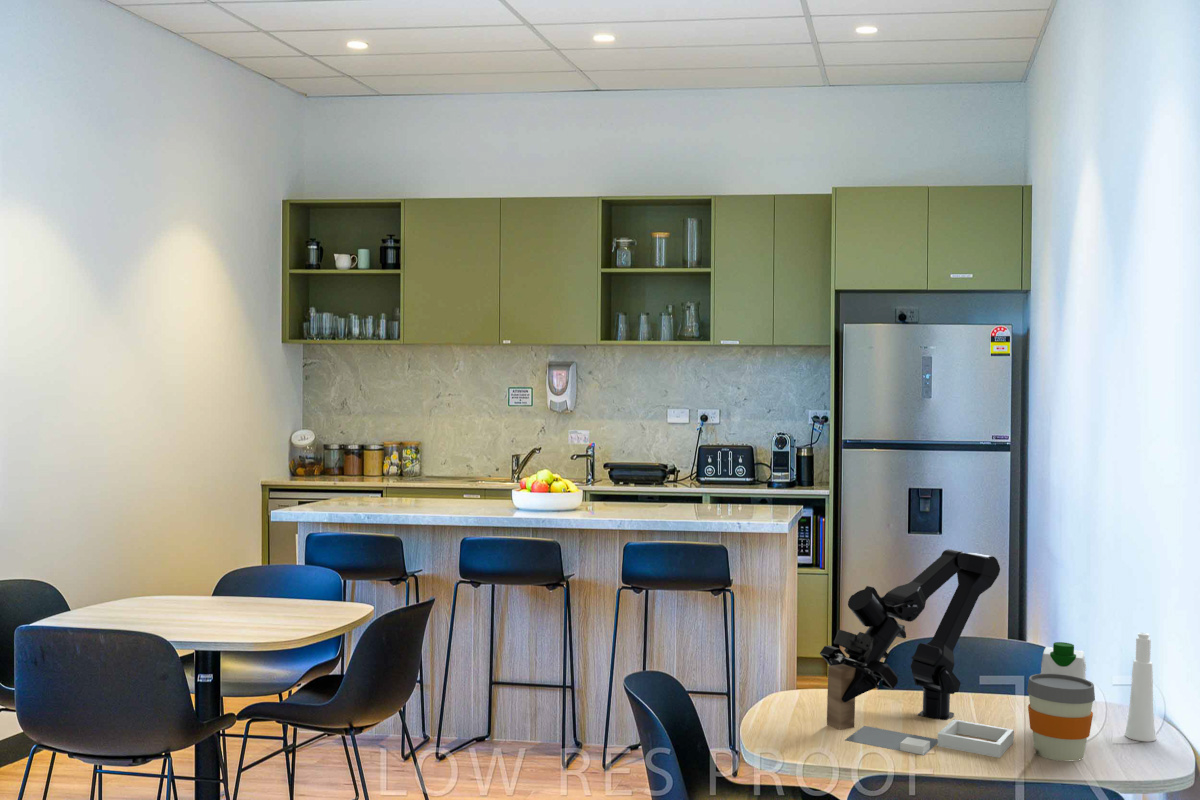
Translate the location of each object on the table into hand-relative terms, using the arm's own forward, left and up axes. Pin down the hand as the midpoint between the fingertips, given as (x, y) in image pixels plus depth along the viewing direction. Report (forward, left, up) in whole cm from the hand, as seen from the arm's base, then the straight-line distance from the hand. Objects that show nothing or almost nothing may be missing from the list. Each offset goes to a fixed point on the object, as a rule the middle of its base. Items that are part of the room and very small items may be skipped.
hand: (836, 698), depth 239 cm
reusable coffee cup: (-13, +42, -8) cm, 44 cm away
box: (-6, +27, -7) cm, 29 cm away
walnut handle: (-1, +1, -7) cm, 7 cm away
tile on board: (+5, +18, -6) cm, 20 cm away
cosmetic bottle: (-37, +54, -8) cm, 66 cm away
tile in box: (-6, +27, -7) cm, 29 cm away
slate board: (+2, +13, -7) cm, 15 cm away
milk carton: (-27, +40, -8) cm, 49 cm away
